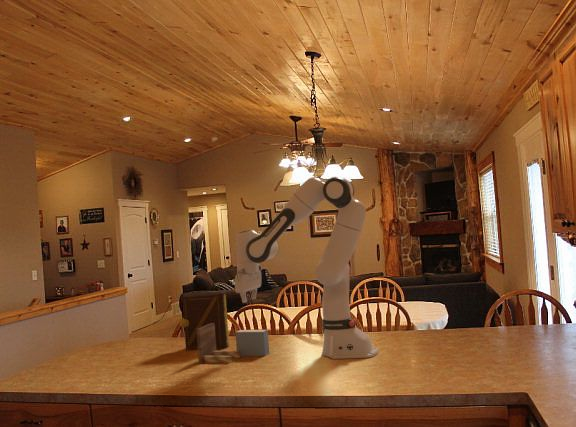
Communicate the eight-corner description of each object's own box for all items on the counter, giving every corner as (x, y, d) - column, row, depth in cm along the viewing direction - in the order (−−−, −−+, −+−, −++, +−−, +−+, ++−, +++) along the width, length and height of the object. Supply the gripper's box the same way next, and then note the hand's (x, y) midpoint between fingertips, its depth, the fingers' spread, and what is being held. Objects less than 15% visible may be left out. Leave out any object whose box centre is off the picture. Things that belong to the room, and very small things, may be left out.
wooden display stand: (242, 355, 225) (239, 322, 226) (228, 363, 213) (226, 328, 214) (213, 355, 230) (211, 322, 230) (198, 363, 218) (196, 329, 218)
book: (230, 344, 250) (226, 291, 250) (226, 348, 241) (222, 293, 242) (184, 347, 252) (181, 294, 252) (179, 351, 243) (175, 296, 244)
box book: (269, 353, 226) (267, 329, 227) (265, 356, 222) (263, 331, 222) (241, 353, 231) (239, 329, 231) (237, 355, 226) (235, 332, 227)
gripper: (244, 270, 217) (246, 304, 216) (263, 265, 236) (265, 297, 236) (230, 271, 219) (231, 304, 218) (250, 266, 238) (251, 297, 238)
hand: (249, 300), depth 227 cm, fingers open, 8 cm apart
